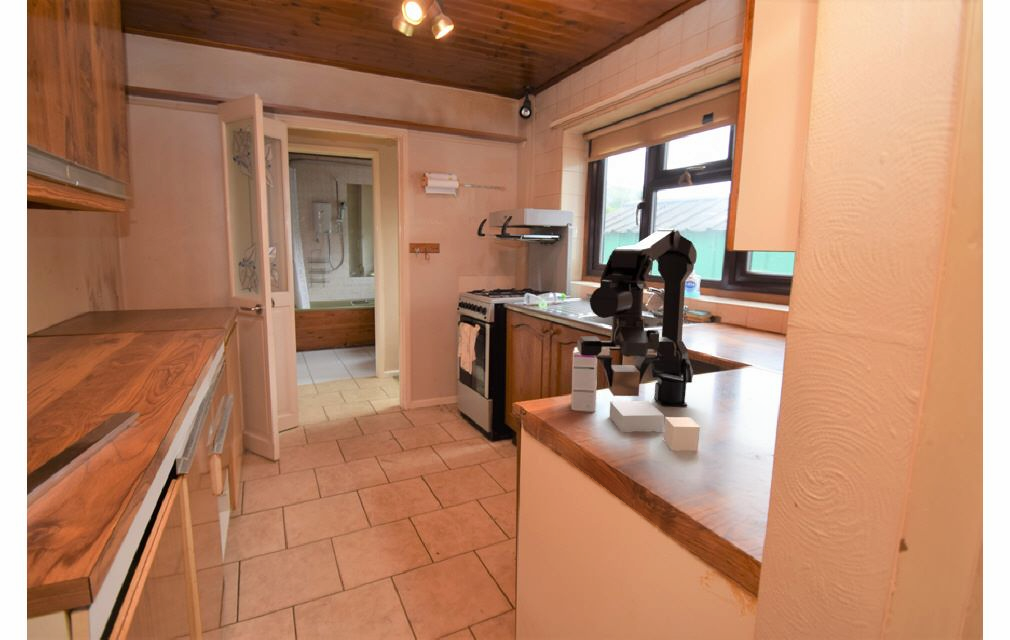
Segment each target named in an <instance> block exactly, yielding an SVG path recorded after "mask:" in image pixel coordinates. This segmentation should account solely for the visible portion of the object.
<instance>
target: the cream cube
mask: <svg viewBox="0 0 1010 640" xmlns="http://www.w3.org/2000/svg"><path fill="white" fill-rule="evenodd" d="M700 431H701V427H700V426H699V425H698V424H697V423H696V422H695V421H694V420H693V419H692V418H691V417H685V416H684V417H683V416H681V417H679V416H677V417H676V416H664V425H663V439H664V440H665V441H664V440H663V441H664V442H665V444H666V443H667V444H668V445H667V444H666V445H667V447H668V448H669V449H670V448H671V449H670V450H671V451H673V450H675V451H676V452H678V451H677V450H684V451H683V452H687V451H686V450H690V451H689V452H698V451H699V441H700ZM692 450H693V451H692Z"/></svg>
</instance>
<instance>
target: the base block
mask: <svg viewBox="0 0 1010 640" xmlns="http://www.w3.org/2000/svg"><path fill="white" fill-rule="evenodd" d="M609 403H610V404H609V418H610V419H611V421H612V422H613V421H614V422H613V423H614V424H615V425H616V427H617V428H618V429H619V431H620V432H621V433H630V432H629V431H663V432H664V425H665V415H664V413H662V412H661V411H660V410H659V409H658V408H657V407H656V406H655V405H653V404H652V403H651V401H649V400H645V401H643V400H639V401H638V400H637V401H636V400H635V401H634V400H633V401H629V400H628V401H627V400H625V401H621V400H616V401H614V400H613V401H610V402H609Z"/></svg>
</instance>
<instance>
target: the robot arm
mask: <svg viewBox="0 0 1010 640" xmlns="http://www.w3.org/2000/svg"><path fill="white" fill-rule="evenodd" d="M697 257H698V255H697V249H696V248H695V245H694V244H693V242H692V241H691V240H689V239H688V238H686V237H684V236H683V235H681V233H680V231H679V230H678V229H675V228H659V229H657V230H654V231H653V233H652V234H650V235H649V236H647V237H645V238H644V239H641V240H640V241H639V242H638V243H637V242H636V244H634V245H625V246H624V245H623V246H620V247H616V248H614V249H613V250H612V252H611V254H609V256H608V258H607V263H605V264H606V265H605V267H604V269H603V272H602V275H601V278H600V280H599V281H600V286H599V287H598V288H596V289H595V290H593V292H592V293H591V295H590V297H589V307H590V309H591V311H592V313H594V314H595V315H596V316H597V317H599V318H603V319H608V318H611V333H610V339H611V340H601V339H600V338H599V337H598V336H595V335H594V336H591V335H589V336H588V335H587V336H586V335H585V336H583V335H581V336H579V337H578V339H577V345H576V347H577V349H578V351H579V352H580V354H581V355H586V356H595V357H596V358H597V360H600V362H601V365H602V369H603V372H604V374H605V378H606V381H607V384H608V385H609V387H612V365H613V364H612V363H613V356H612V355H611V354H610V353H611V351H620V353H621V355H622V356H623V357H626V358H629V357H633V356H634V357H635V367H636V368H637V369H638V370H639V371H640V382H639V385H640V384H641V382H642V380H643V377H644V375H645V374H646V371H647V369H648V367H649V366H650V364H651V375H652V378H654V379H655V378H657V382H655V385H654V394H653V395H654V396H653V399H655V400H656V401H657V402H658V403H659V404H660V405H661V406H664V407H665V406H667V407H670V406H671V407H687V406H688V403H687V402H686V392H687V391H686V390H687V384H691V383H693V377H694V369H693V368H692V365H691V362H690V361H691V360H690V359H689V350H688V348H687V346H686V345H685V343H684V341H683V325H684V312H685V311H684V310H685V308H684V307H685V295H686V294H685V293H686V281H687V280H688V279H689V277H690V275H692V273H693V271H694V266H695V264H696V261H697ZM654 261H656V262H657V270H658V273H659V275H660V277H661V278H662V280H663V282H664V283H663V285H664V287H663V304H662V306H663V307H662V323H661V328H662V329H661V336H660V332H659V330H658V329H648V330H645V327H644V318H643V307H644V306H643V305H644V291H645V290H644V289H645V288H647V284H646V282H645V281H646V280H647V278H648V276H649V275H650V273H651V271H652V270H653V265H654V263H653V262H654ZM608 385H607V386H608Z"/></svg>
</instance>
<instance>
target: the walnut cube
mask: <svg viewBox="0 0 1010 640" xmlns="http://www.w3.org/2000/svg"><path fill="white" fill-rule="evenodd" d="M639 382H640V371H639V370H638V369H637V368H636V365H634V364H612V387H609V385H607V386H608V387H607V388H608V390H609V392H610V393H611V394H612V395H613V397H639V395H640V384H639ZM640 383H641V382H640Z"/></svg>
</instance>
